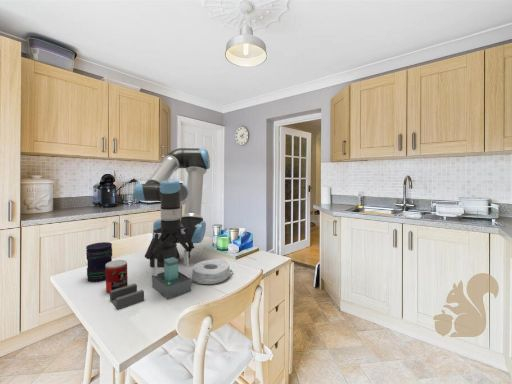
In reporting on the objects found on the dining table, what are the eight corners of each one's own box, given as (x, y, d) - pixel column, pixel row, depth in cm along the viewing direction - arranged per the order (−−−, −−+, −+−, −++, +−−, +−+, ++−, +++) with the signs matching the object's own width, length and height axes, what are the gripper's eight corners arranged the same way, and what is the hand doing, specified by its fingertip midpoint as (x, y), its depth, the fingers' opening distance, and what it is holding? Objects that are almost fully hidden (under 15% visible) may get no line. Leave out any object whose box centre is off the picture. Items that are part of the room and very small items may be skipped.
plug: (164, 287, 100) (164, 259, 99) (173, 284, 103) (173, 257, 102) (169, 291, 97) (168, 262, 96) (178, 287, 100) (178, 259, 99)
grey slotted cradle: (110, 300, 91) (109, 291, 90) (135, 291, 97) (135, 283, 97) (117, 309, 84) (117, 300, 84) (144, 300, 91) (144, 291, 90)
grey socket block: (152, 287, 101) (152, 273, 101) (174, 279, 108) (174, 267, 108) (167, 299, 91) (167, 284, 91) (191, 290, 99) (191, 276, 98)
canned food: (112, 295, 94) (111, 268, 93) (102, 290, 98) (101, 263, 97) (131, 288, 100) (131, 262, 99) (121, 283, 104) (120, 258, 103)
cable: (235, 272, 119) (235, 260, 118) (222, 288, 102) (222, 274, 101) (202, 268, 123) (202, 256, 122) (184, 283, 106) (184, 270, 105)
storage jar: (83, 283, 103) (81, 249, 102) (92, 274, 113) (90, 242, 112) (109, 281, 106) (108, 247, 105) (115, 272, 115) (115, 241, 114)
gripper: (142, 224, 86) (143, 282, 88) (202, 216, 104) (202, 264, 106) (134, 221, 91) (135, 276, 93) (193, 214, 109) (193, 260, 111)
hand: (171, 270), depth 99 cm, fingers open, 13 cm apart
